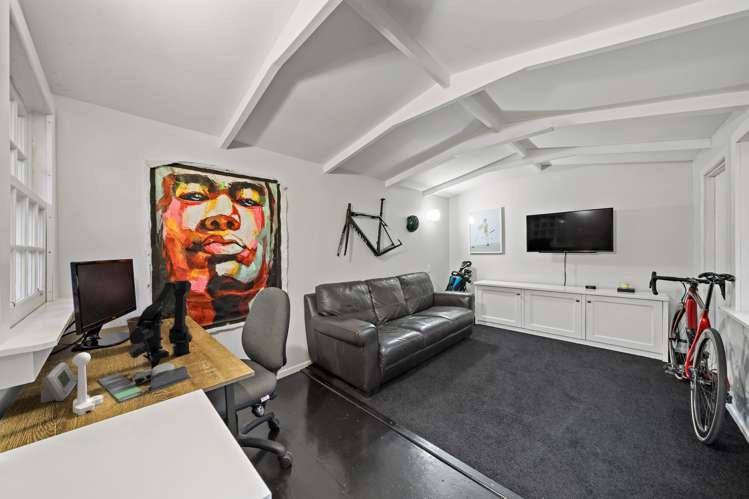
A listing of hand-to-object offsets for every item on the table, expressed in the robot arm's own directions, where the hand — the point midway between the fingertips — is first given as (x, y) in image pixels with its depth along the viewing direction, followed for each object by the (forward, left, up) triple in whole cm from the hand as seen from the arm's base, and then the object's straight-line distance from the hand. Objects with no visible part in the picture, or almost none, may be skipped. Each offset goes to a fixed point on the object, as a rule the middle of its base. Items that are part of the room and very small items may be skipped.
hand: (153, 370), depth 125 cm
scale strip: (+13, +4, -1) cm, 13 cm away
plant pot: (-11, -48, -2) cm, 49 cm away
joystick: (+23, +12, -2) cm, 26 cm away
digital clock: (+27, -8, -2) cm, 28 cm away
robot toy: (+2, +7, -2) cm, 7 cm away
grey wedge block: (0, +18, -1) cm, 18 cm away
